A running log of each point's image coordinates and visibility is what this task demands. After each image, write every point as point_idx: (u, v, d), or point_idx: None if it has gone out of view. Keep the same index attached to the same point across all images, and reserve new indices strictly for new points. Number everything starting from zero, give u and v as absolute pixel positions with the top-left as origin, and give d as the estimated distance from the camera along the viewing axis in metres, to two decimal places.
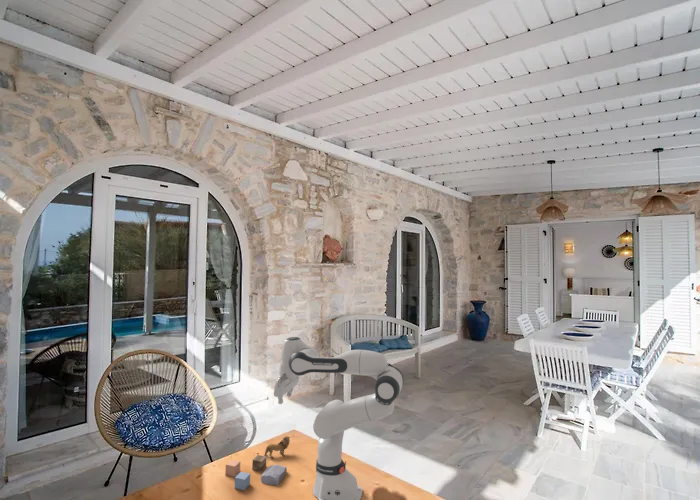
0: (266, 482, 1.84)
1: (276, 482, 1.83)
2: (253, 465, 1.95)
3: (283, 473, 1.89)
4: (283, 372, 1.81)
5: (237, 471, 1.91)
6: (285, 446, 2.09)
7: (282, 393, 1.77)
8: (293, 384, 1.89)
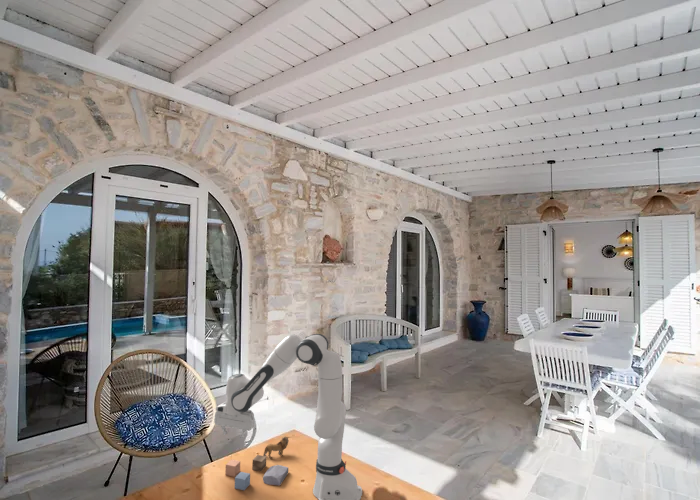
0: (268, 482, 1.84)
1: (278, 482, 1.83)
2: (253, 465, 1.95)
3: (285, 473, 1.89)
4: None
5: (237, 471, 1.91)
6: (284, 446, 2.09)
7: None
8: None
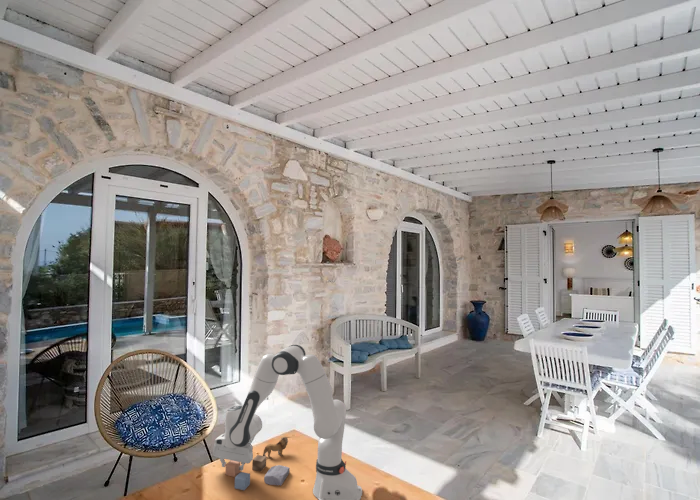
0: (269, 483, 1.83)
1: (279, 483, 1.83)
2: (253, 465, 1.95)
3: (286, 473, 1.89)
4: None
5: (237, 471, 1.91)
6: (283, 446, 2.08)
7: None
8: None
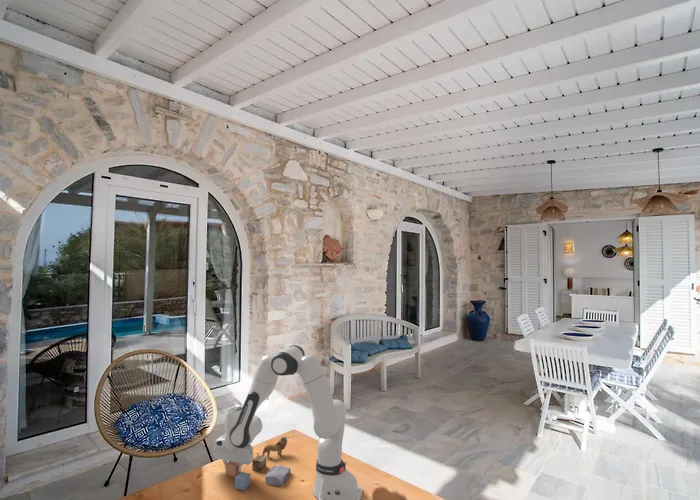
0: (270, 483, 1.83)
1: (280, 483, 1.82)
2: (253, 465, 1.95)
3: (287, 474, 1.89)
4: None
5: (237, 471, 1.91)
6: (283, 446, 2.08)
7: None
8: None
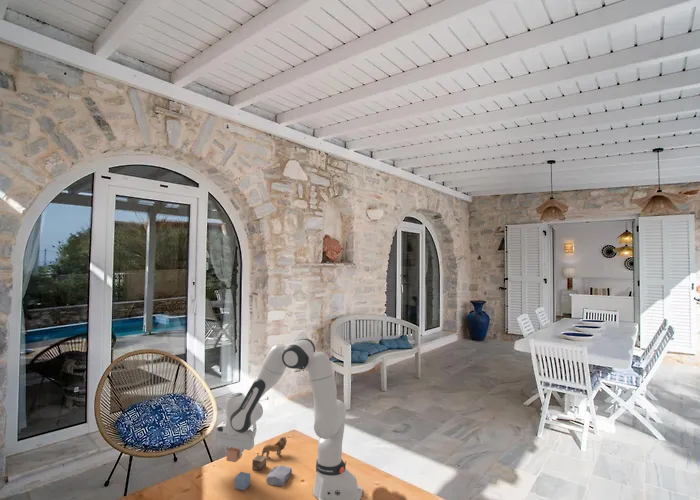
0: (272, 483, 1.83)
1: (282, 483, 1.82)
2: (253, 465, 1.95)
3: (288, 474, 1.89)
4: None
5: (238, 457, 1.91)
6: (282, 447, 2.08)
7: None
8: None
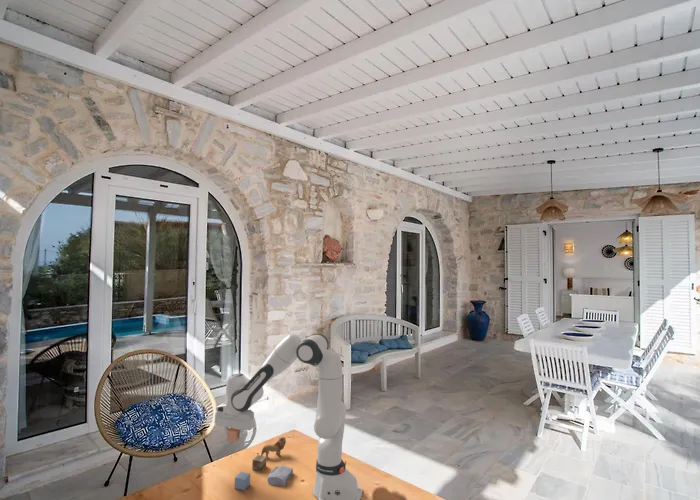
0: (273, 483, 1.83)
1: (283, 483, 1.82)
2: (253, 465, 1.95)
3: (290, 474, 1.89)
4: None
5: (238, 437, 1.91)
6: (281, 447, 2.08)
7: None
8: None
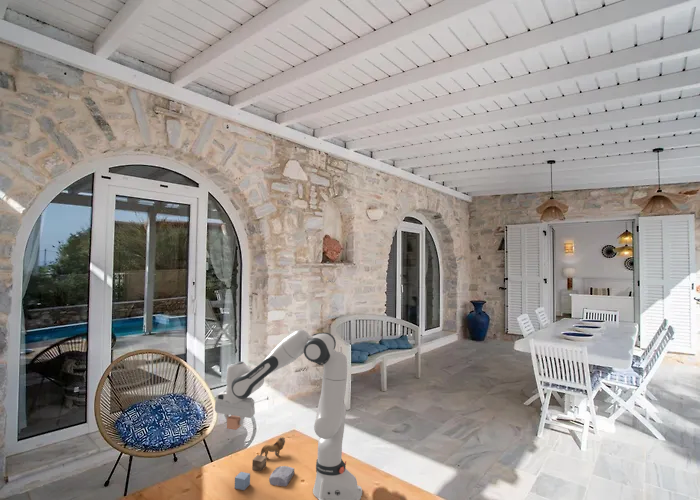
0: (275, 484, 1.83)
1: (285, 483, 1.82)
2: (253, 465, 1.95)
3: (291, 474, 1.88)
4: None
5: (238, 425, 1.91)
6: (280, 447, 2.08)
7: None
8: None
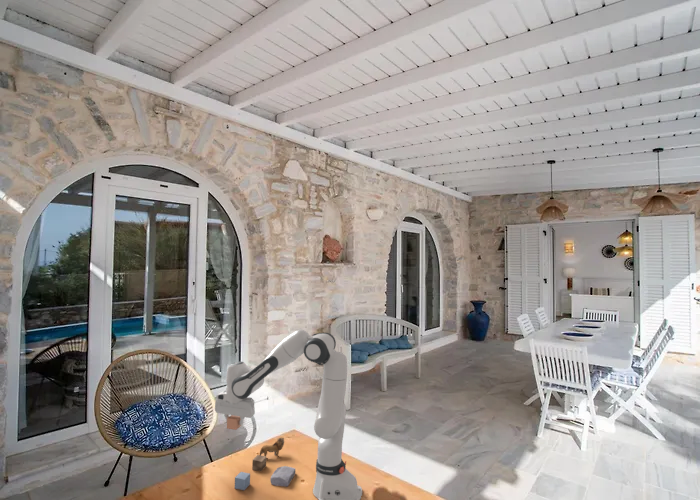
0: (276, 484, 1.83)
1: (286, 484, 1.82)
2: (253, 465, 1.95)
3: (292, 474, 1.88)
4: None
5: (238, 425, 1.91)
6: (280, 447, 2.07)
7: None
8: None
